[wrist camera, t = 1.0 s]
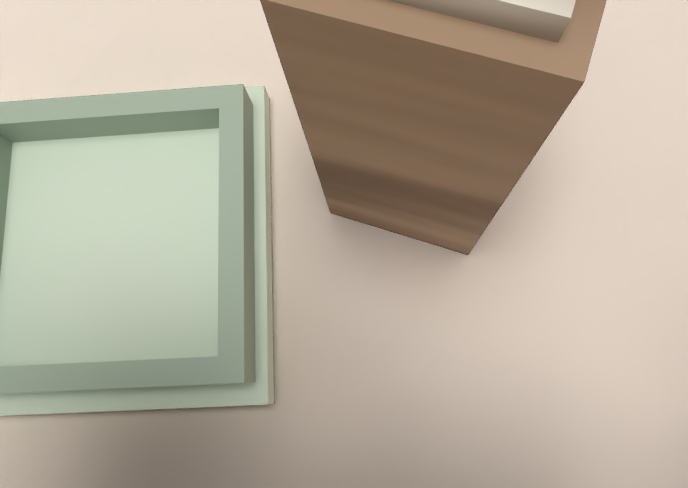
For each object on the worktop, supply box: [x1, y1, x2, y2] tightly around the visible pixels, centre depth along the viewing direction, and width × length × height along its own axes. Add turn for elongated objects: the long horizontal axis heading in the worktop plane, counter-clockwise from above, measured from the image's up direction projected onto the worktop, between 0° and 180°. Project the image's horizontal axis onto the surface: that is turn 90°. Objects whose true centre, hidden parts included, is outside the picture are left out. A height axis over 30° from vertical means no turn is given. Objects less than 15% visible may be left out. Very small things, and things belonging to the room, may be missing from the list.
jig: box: [0, 84, 274, 416], centre depth 20 cm, size 11×10×2 cm
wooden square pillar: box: [260, 0, 606, 255], centre depth 15 cm, size 5×5×13 cm
